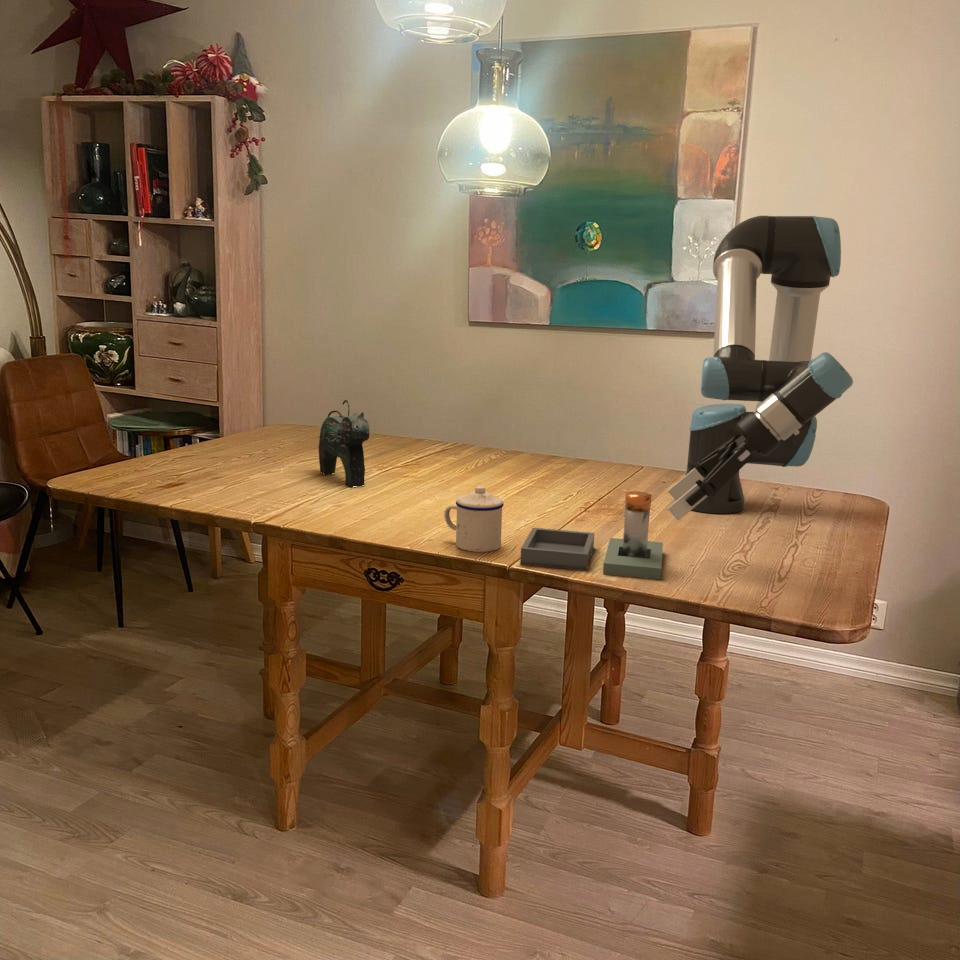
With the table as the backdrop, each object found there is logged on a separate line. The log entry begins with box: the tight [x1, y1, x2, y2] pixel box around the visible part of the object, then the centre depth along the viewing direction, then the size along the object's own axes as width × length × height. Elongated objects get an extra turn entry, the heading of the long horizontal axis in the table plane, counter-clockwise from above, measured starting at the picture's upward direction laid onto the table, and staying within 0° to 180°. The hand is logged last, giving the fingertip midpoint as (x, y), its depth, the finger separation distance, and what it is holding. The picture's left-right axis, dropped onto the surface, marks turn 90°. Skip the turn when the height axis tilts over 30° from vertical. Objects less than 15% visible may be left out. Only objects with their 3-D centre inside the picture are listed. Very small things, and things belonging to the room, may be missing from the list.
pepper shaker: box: [622, 490, 652, 558], centre depth 170 cm, size 5×5×13 cm
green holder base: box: [602, 537, 664, 580], centre depth 171 cm, size 16×10×2 cm, turn 168°
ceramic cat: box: [318, 399, 370, 488], centre depth 225 cm, size 20×6×20 cm, turn 35°
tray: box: [519, 527, 595, 571], centre depth 174 cm, size 14×12×3 cm
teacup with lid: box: [443, 485, 505, 553], centre depth 178 cm, size 12×9×12 cm
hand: (672, 505), depth 166 cm, fingers open, 13 cm apart
